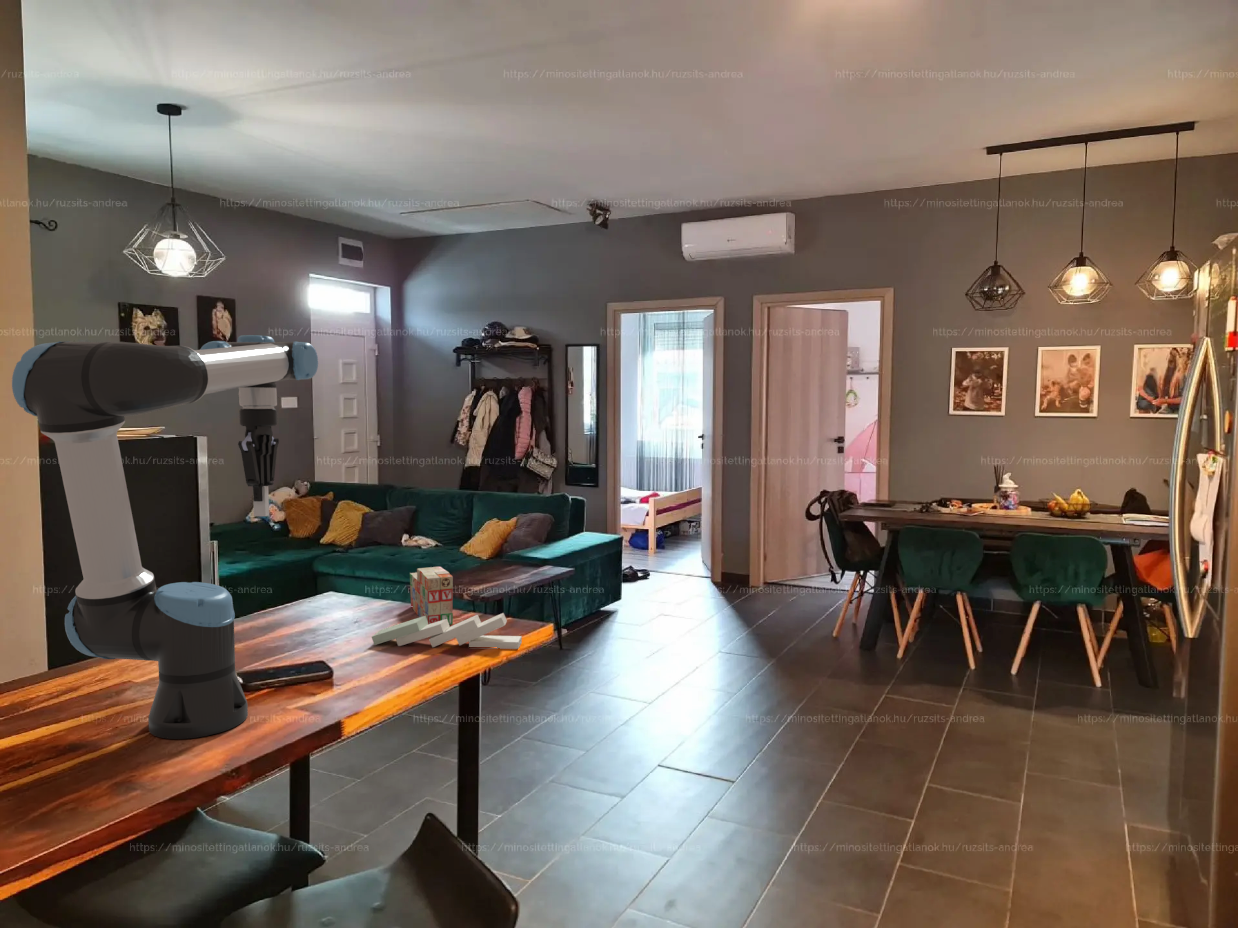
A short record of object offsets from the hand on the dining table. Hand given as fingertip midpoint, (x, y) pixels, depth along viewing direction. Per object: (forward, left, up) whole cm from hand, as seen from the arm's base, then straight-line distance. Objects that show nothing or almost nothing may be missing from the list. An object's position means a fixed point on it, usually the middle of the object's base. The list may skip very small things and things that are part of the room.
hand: (261, 515), depth 183 cm
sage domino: (+20, -14, -28) cm, 37 cm away
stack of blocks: (+41, -2, -30) cm, 51 cm away
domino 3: (+32, -28, -28) cm, 51 cm away
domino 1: (+23, -18, -29) cm, 41 cm away
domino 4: (+34, -30, -29) cm, 54 cm away
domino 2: (+28, -24, -28) cm, 46 cm away
